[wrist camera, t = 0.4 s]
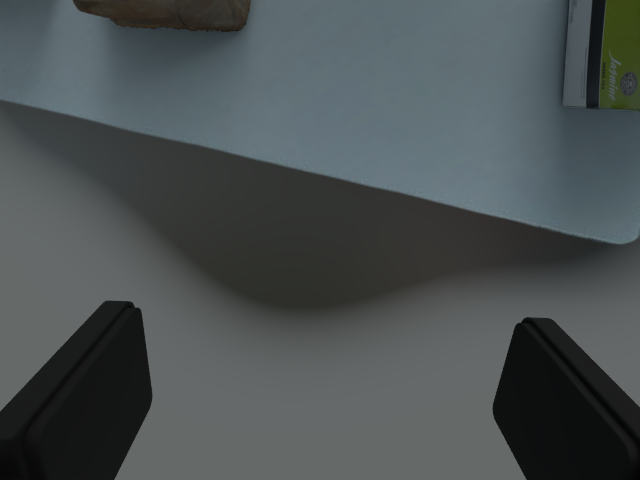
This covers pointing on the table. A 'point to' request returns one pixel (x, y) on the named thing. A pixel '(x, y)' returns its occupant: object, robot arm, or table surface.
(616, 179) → the table surface
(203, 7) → the brown carved statuette
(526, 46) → the table surface
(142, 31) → the table surface
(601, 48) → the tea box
